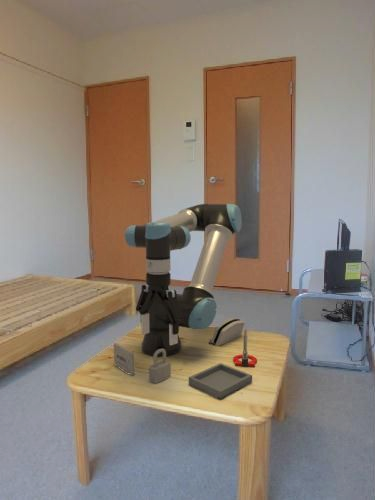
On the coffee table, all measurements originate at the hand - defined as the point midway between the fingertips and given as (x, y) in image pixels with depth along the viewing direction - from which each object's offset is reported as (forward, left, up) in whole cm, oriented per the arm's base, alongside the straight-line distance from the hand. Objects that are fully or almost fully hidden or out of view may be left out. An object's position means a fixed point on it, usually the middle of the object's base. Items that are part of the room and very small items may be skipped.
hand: (158, 338), depth 125 cm
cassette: (-14, -4, -14) cm, 20 cm away
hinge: (-7, +42, -14) cm, 45 cm away
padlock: (0, 0, -14) cm, 14 cm away
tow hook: (+11, +30, -14) cm, 35 cm away
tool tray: (+16, +11, -14) cm, 24 cm away
